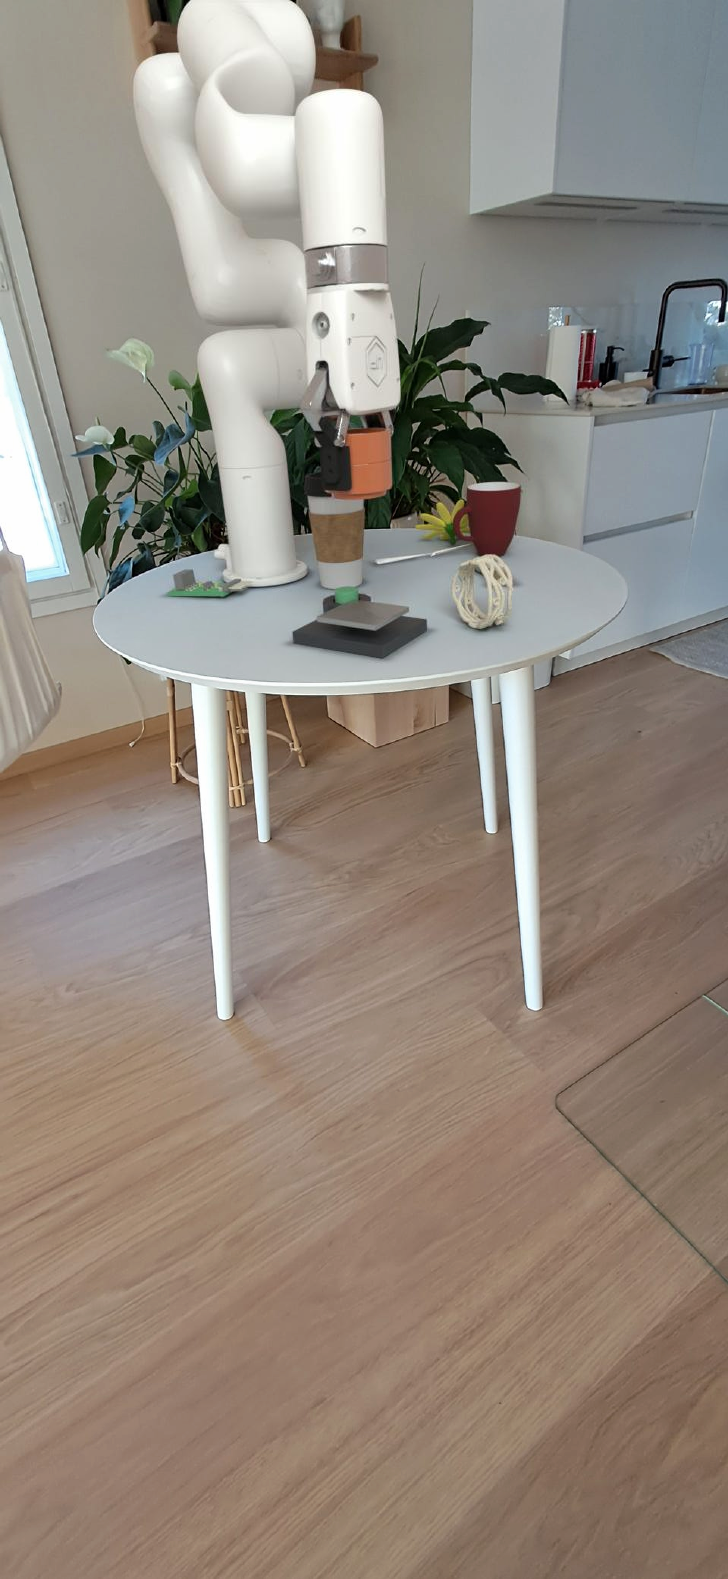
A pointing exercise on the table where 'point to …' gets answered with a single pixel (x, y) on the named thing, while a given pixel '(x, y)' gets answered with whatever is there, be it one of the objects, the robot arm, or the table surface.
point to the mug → (490, 516)
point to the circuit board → (203, 586)
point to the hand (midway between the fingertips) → (358, 482)
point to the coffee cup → (336, 535)
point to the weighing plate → (363, 614)
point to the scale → (360, 634)
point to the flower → (444, 523)
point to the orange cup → (368, 463)
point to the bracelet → (491, 582)
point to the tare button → (346, 594)
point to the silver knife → (388, 560)
